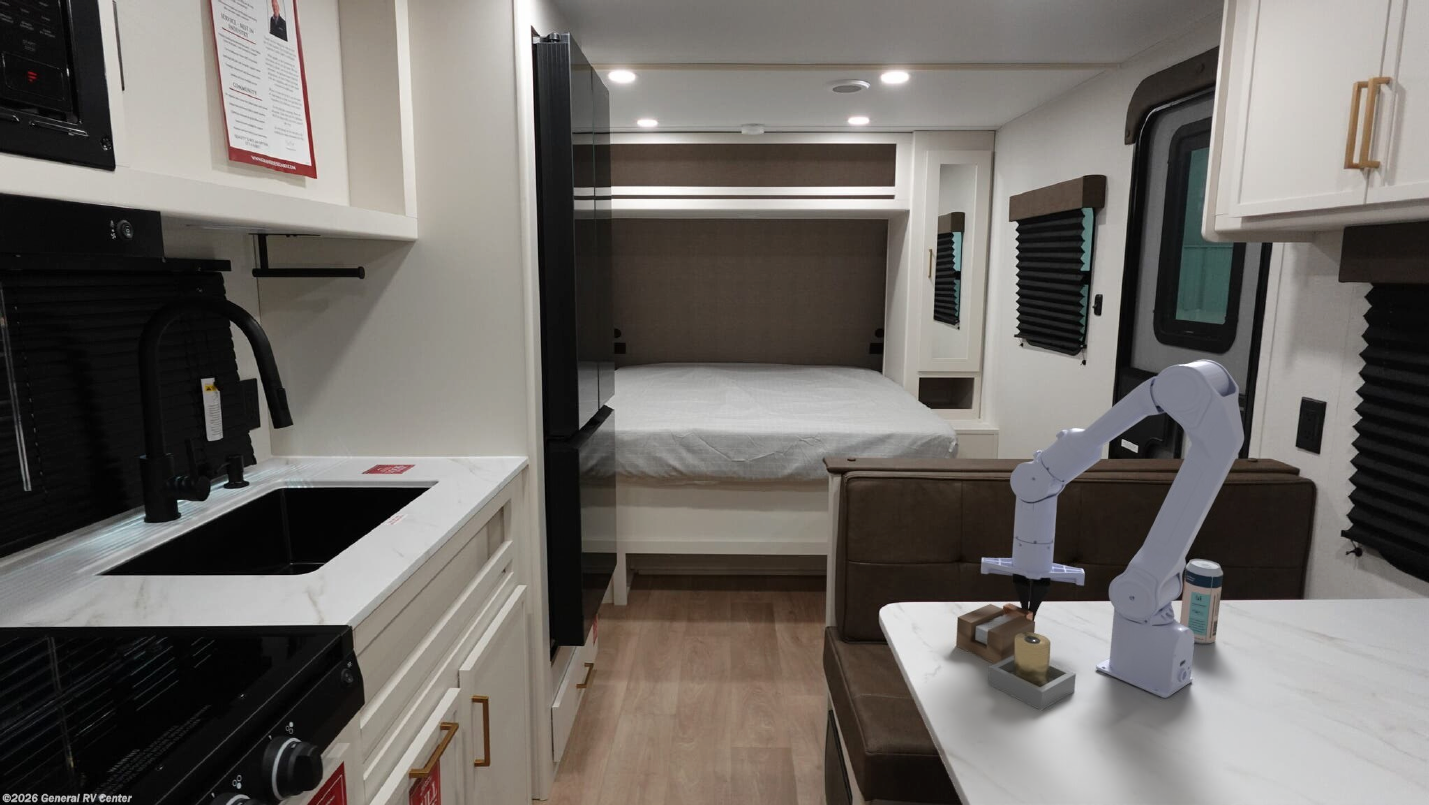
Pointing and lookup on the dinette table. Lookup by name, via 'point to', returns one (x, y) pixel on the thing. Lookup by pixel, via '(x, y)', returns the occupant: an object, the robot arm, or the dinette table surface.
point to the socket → (1028, 692)
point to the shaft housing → (991, 633)
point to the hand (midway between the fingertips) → (1027, 621)
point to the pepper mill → (1032, 658)
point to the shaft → (1001, 620)
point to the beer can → (1201, 599)
